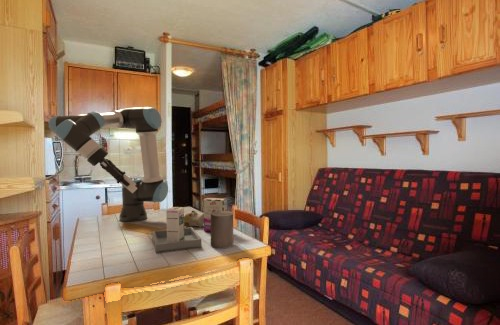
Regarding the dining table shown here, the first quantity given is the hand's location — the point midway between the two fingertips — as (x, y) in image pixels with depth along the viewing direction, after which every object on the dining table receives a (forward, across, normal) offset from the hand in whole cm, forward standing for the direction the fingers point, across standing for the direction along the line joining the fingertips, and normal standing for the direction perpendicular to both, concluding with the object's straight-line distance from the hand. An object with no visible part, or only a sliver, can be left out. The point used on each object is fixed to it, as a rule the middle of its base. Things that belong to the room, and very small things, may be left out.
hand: (134, 188), depth 119 cm
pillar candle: (+41, +15, +7) cm, 44 cm away
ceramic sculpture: (+38, -20, +3) cm, 43 cm away
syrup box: (+28, +5, -5) cm, 29 cm away
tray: (+28, +5, -6) cm, 29 cm away
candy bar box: (+44, -6, +9) cm, 45 cm away
